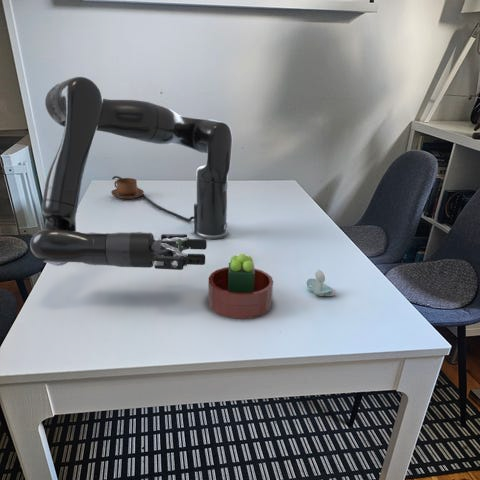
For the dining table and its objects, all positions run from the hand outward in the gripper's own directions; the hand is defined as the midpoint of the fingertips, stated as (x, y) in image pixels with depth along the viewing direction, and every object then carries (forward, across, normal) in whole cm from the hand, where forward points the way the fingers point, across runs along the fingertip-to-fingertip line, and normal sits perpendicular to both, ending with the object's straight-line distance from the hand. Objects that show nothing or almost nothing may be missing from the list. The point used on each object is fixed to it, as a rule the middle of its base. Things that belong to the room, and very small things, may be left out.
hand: (205, 251), depth 100 cm
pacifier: (+28, +6, +13) cm, 32 cm away
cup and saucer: (-32, +83, +13) cm, 90 cm away
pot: (+8, 0, +13) cm, 15 cm away
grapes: (+8, 0, +12) cm, 14 cm away
